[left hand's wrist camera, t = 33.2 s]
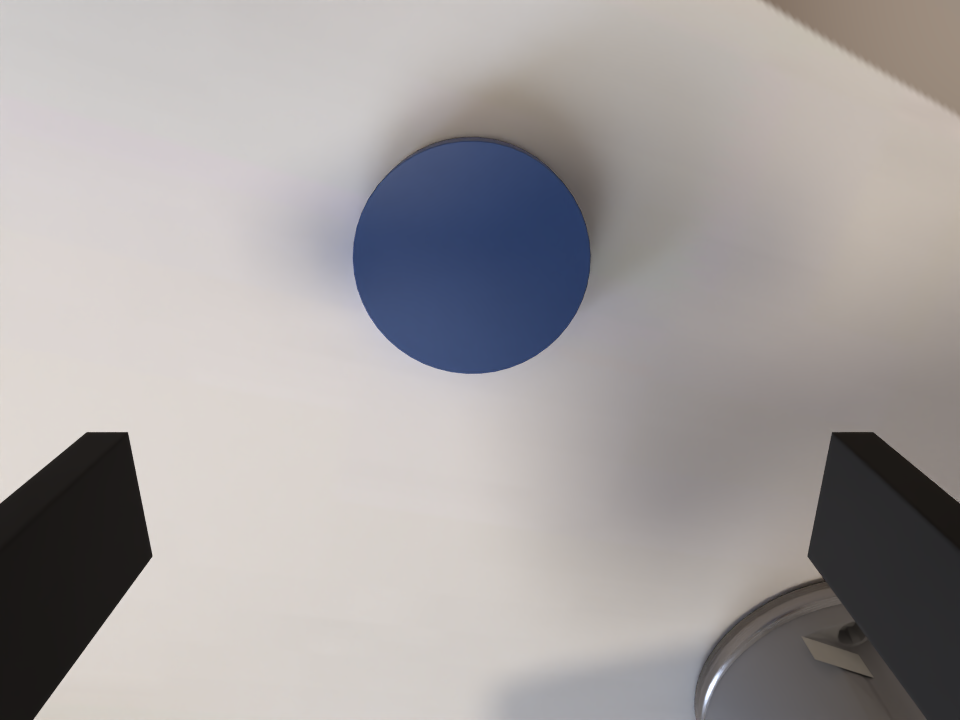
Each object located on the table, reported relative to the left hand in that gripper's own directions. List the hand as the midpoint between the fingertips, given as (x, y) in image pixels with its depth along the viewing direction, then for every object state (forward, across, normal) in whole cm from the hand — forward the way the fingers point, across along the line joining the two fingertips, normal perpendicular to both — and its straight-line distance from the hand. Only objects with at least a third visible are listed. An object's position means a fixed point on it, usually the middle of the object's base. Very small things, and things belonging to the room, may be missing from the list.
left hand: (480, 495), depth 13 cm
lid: (+15, 0, -1) cm, 15 cm away
